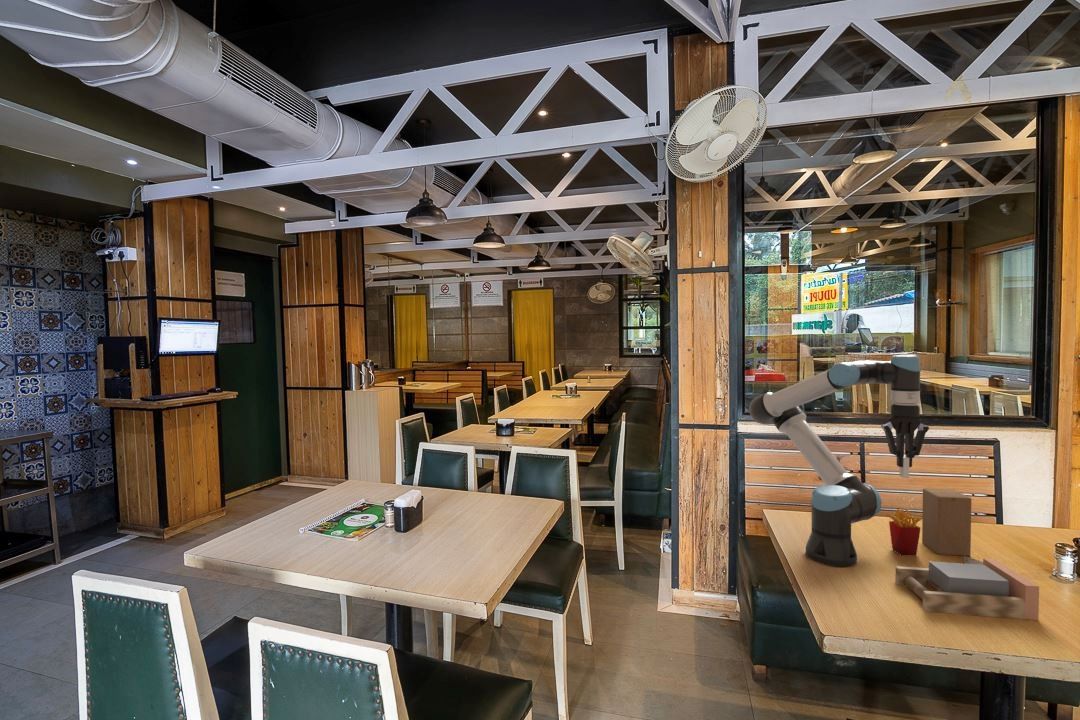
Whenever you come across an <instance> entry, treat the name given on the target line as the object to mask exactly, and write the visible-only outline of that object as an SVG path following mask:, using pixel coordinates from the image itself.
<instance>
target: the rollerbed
mask: <svg viewBox="0 0 1080 720" xmlns="http://www.w3.org/2000/svg"><path fill="white" fill-rule="evenodd" d="M894 574H895V575H894V577H895V578H894V579H895V581H894V582H895V584H897V585H898V586H907V587H908V589H910V590H911V591H912V592H914V594H915V595H917V596H918V597H919V599H921V600H922V609H923V611H925V612H929V613H938V614H939V613H940V614H955V615H966V616H967V615H968V616H981V617H994V618H1004V619H1016V620H1019V619H1020V620H1026V619H1025V600H1024V599H1022V598H1019V597H1005V596H991V595H977V594H963V593H949V592H945V591H944V590H942V589H941V588H940V587H939V586H938V585H936V584H935V583H934V582H933V581H932V580H930V579H929V567H914V566H913V567H912V566H897V565H895V573H894ZM926 587H927V588H930V589H932V590H933V591H932V590H929V589H927V588H926Z"/></svg>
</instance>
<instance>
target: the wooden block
mask: <svg viewBox="0 0 1080 720" xmlns="http://www.w3.org/2000/svg"><path fill="white" fill-rule="evenodd" d="M921 516H922V517H921V521H922V523H921V526H922V527H921V528H922V529H921V533H922V535H921V543H922V544H923V545H924V546H926V547H927V548H929V549H930V550H931V551H932V552H934V553H935V554H937V555H947V556H962V557H964V556H967V557H971V552H972V551H971V547H972V544H971V543H972V542H971V541H972V539H971V538H972V498H971V497H969V496H967V495H966V494H963V493H961V492H959V491H957V490H955V489H952V488H951V489H948V488H947V489H946V488H945V489H944V488H922V515H921Z"/></svg>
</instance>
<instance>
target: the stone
mask: <svg viewBox="0 0 1080 720" xmlns="http://www.w3.org/2000/svg"><path fill="white" fill-rule="evenodd" d="M962 563H963V564H979V565H983V561H980V560H977V559H975V558H972V557H970V556H962Z"/></svg>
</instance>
